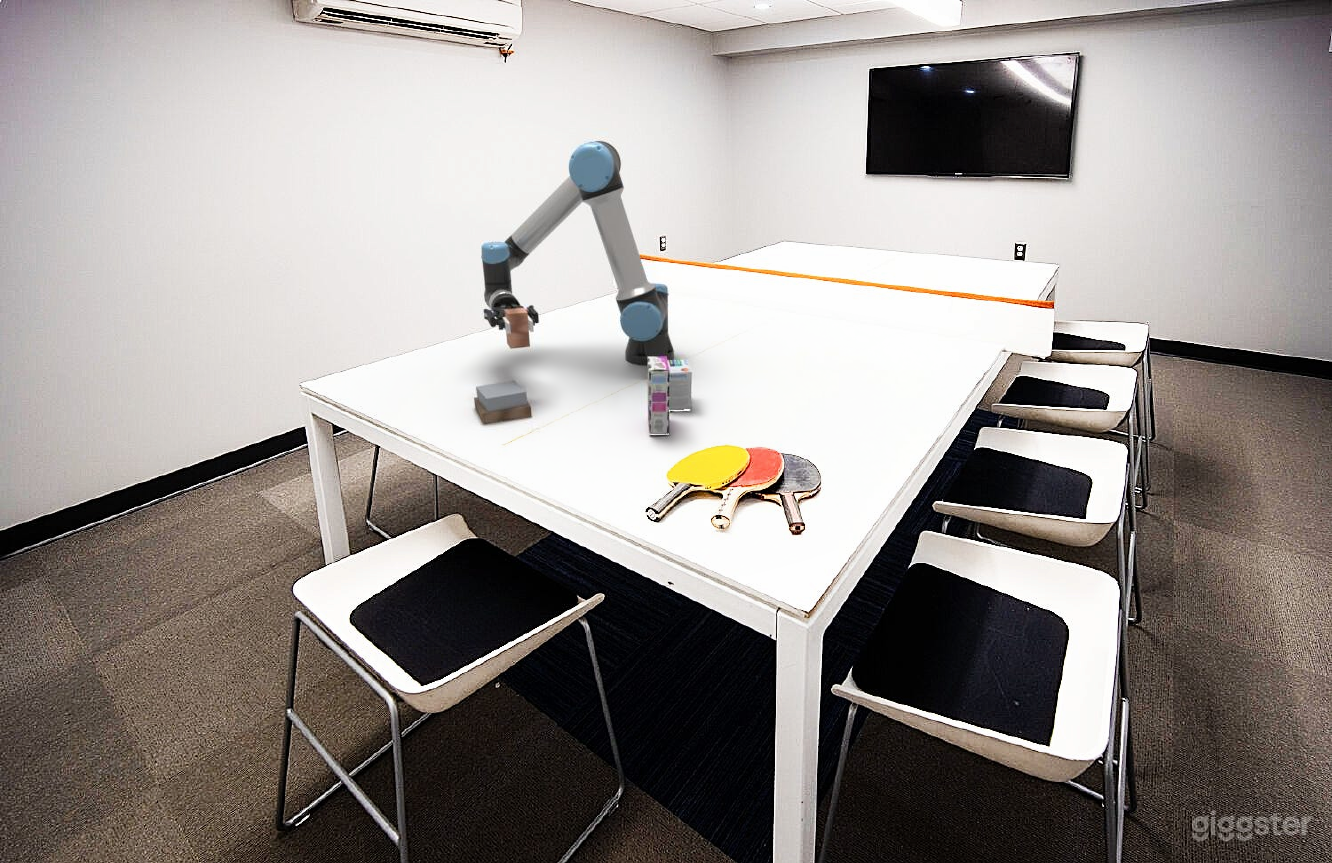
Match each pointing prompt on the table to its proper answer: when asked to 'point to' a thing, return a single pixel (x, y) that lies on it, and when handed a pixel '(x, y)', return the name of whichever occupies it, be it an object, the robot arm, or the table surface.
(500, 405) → the slate slab
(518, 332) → the terracotta block
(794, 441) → the table surface
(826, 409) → the table surface
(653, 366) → the candy bar box
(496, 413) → the walnut slab
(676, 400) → the light bulb box
